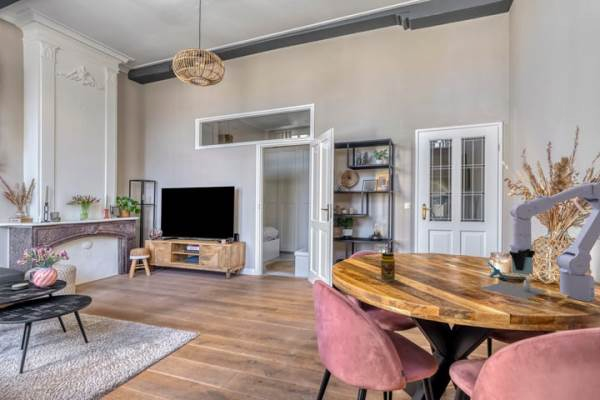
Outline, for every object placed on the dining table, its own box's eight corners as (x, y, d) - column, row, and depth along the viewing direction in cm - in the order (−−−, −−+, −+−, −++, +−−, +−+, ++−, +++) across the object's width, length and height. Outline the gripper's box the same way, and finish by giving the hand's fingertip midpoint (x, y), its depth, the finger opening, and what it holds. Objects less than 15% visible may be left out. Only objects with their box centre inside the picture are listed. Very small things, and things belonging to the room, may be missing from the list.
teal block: (532, 273, 119) (532, 257, 119) (527, 274, 116) (527, 259, 116) (518, 271, 123) (517, 256, 123) (512, 272, 120) (512, 257, 120)
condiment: (387, 281, 136) (387, 255, 136) (374, 277, 144) (374, 252, 144) (399, 279, 140) (399, 253, 140) (386, 276, 147) (386, 251, 147)
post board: (546, 293, 119) (546, 280, 119) (527, 301, 109) (527, 287, 109) (501, 284, 132) (501, 272, 132) (480, 290, 122) (480, 278, 122)
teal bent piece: (510, 279, 134) (490, 261, 139) (499, 287, 136) (480, 270, 140) (507, 277, 144) (489, 261, 148) (496, 285, 145) (479, 269, 150)
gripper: (518, 232, 127) (519, 265, 127) (502, 234, 119) (502, 269, 119) (538, 234, 121) (539, 268, 121) (523, 236, 113) (523, 273, 113)
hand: (522, 269), depth 119 cm, fingers closed on teal block, 5 cm apart
